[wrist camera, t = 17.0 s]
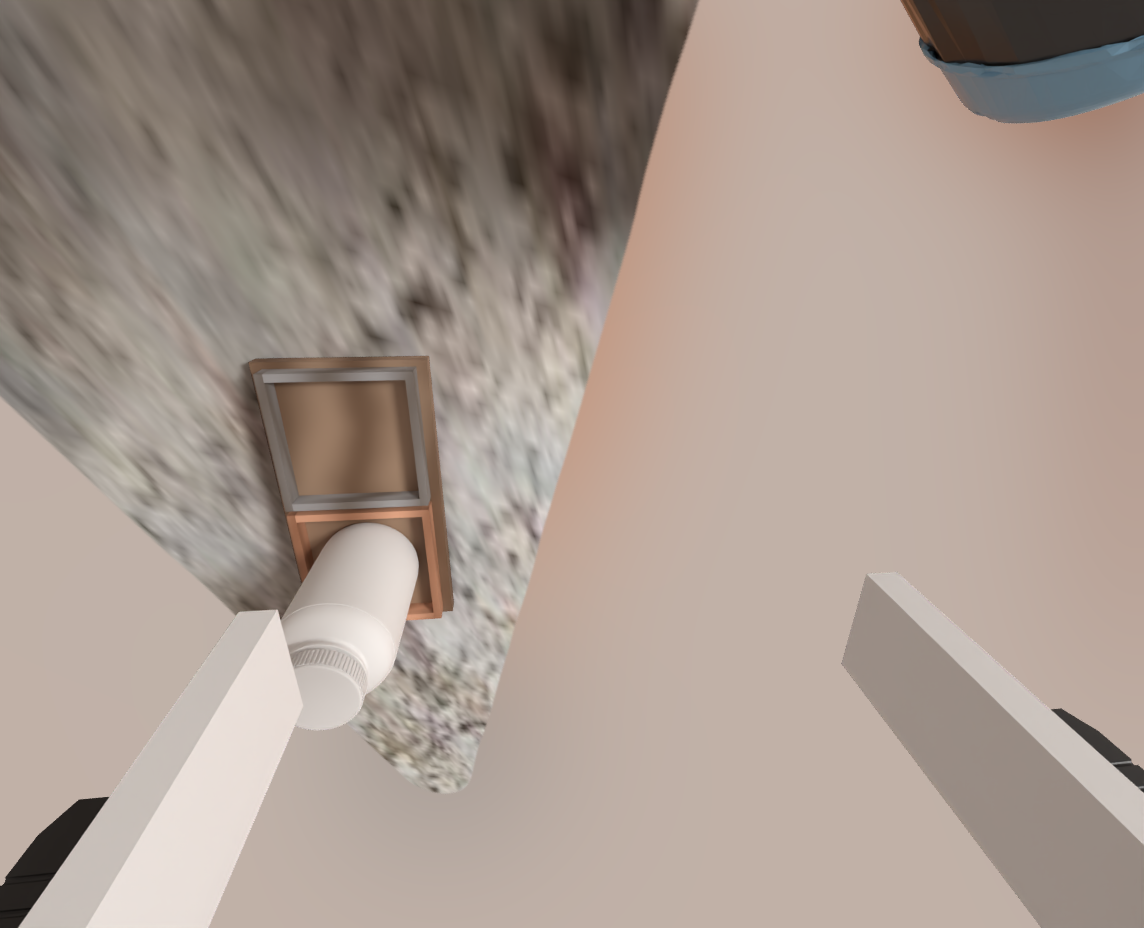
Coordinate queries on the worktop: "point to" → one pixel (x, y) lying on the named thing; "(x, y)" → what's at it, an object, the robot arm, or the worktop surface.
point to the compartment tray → (358, 458)
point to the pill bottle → (349, 621)
